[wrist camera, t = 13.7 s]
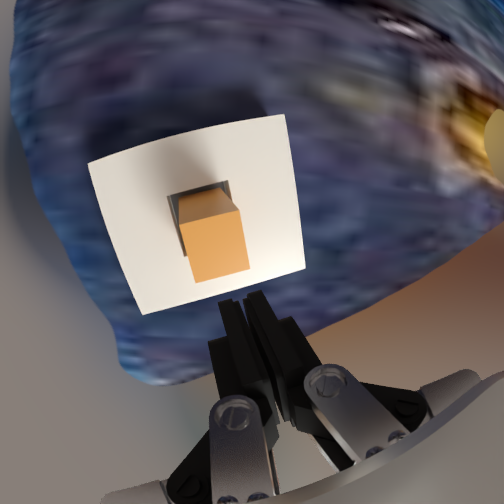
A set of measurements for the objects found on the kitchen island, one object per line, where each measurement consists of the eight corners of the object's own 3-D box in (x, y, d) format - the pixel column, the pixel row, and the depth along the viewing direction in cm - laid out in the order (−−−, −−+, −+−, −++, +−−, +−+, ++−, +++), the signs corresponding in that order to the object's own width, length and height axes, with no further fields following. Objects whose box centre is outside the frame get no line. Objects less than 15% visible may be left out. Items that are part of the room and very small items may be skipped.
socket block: (100, 159, 24) (87, 163, 20) (268, 117, 27) (284, 114, 23) (145, 292, 31) (142, 314, 27) (290, 252, 34) (305, 268, 30)
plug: (178, 195, 26) (179, 224, 17) (218, 185, 27) (239, 209, 18) (188, 236, 28) (195, 283, 19) (226, 226, 29) (250, 268, 20)
